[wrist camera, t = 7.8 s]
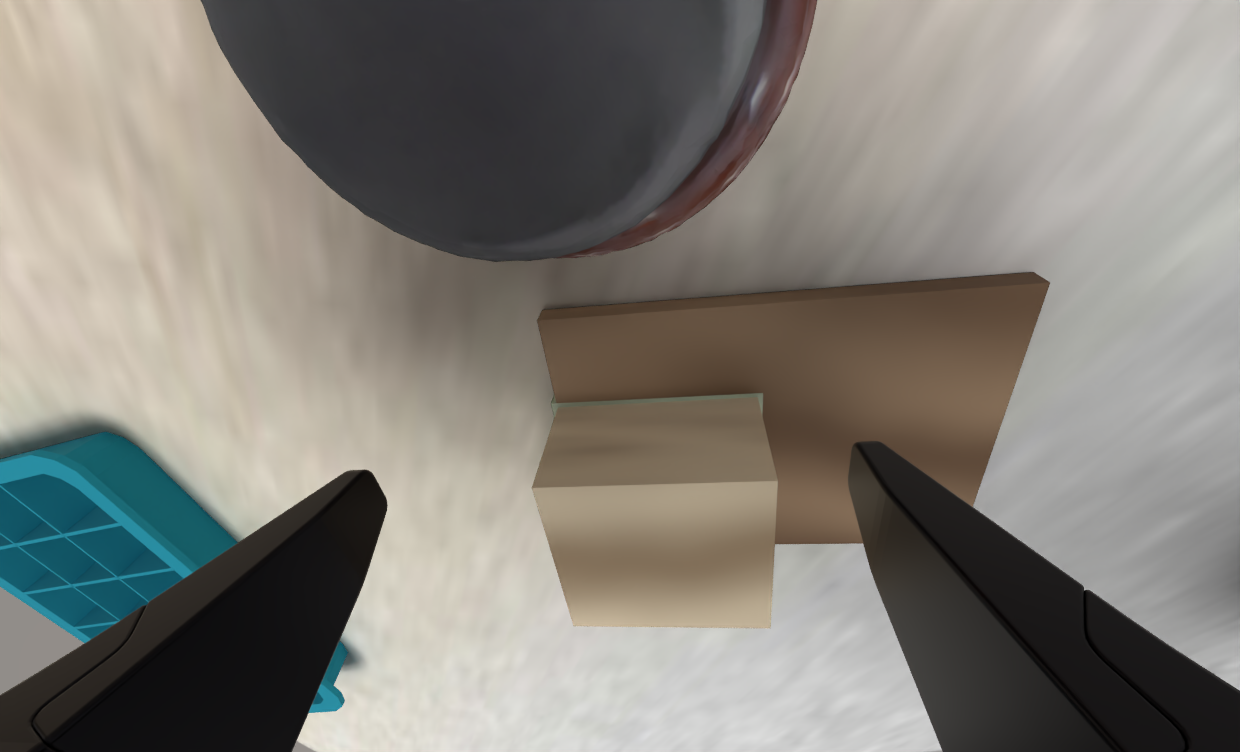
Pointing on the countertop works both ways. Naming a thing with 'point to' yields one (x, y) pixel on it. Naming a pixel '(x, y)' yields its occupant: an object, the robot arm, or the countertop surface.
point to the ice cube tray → (105, 537)
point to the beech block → (661, 513)
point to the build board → (819, 376)
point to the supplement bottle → (520, 109)
